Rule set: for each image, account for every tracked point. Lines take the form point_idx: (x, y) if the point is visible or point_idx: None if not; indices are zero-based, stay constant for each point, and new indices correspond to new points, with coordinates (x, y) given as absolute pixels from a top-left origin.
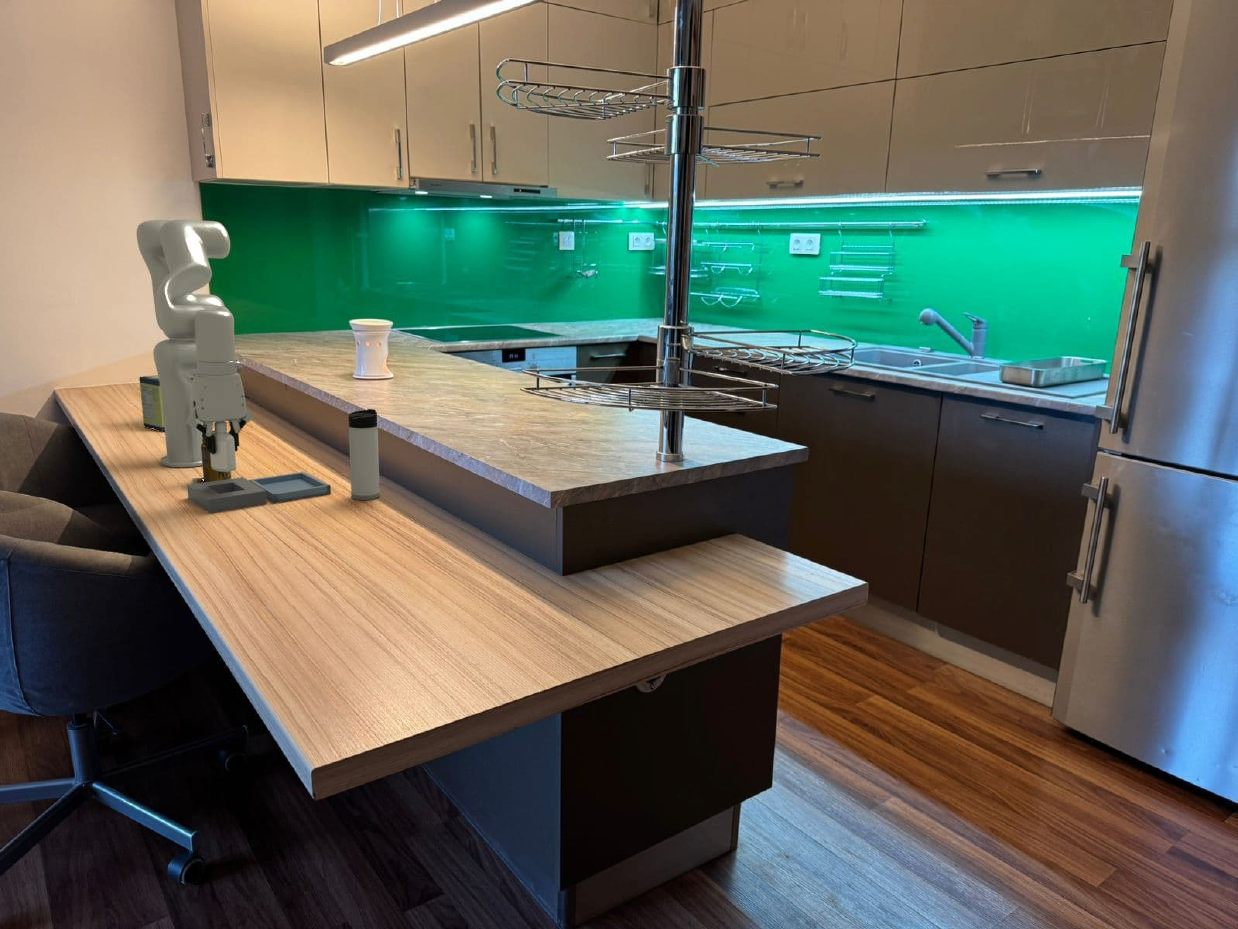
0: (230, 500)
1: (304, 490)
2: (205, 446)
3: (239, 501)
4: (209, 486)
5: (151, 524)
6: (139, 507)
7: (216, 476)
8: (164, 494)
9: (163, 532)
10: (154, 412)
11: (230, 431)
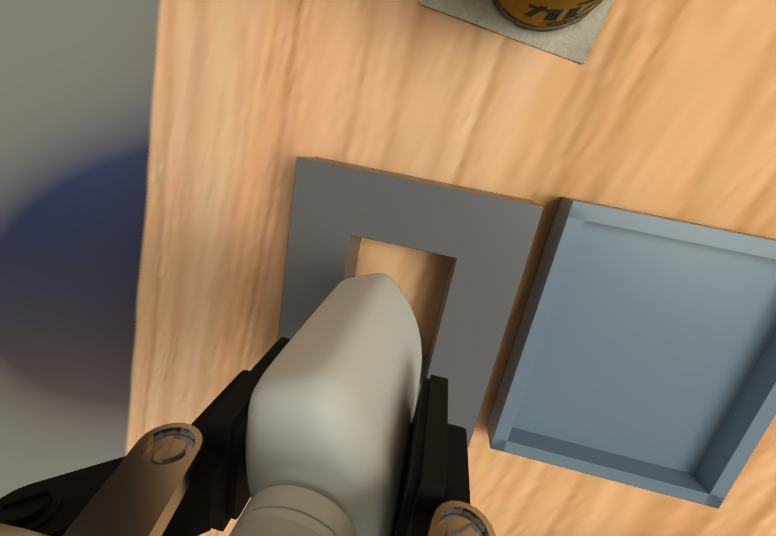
0: None
1: (606, 476)
2: (238, 377)
3: None
4: (359, 236)
5: (140, 337)
6: (155, 147)
7: (518, 8)
8: (274, 30)
9: (147, 413)
10: None
11: (410, 522)
